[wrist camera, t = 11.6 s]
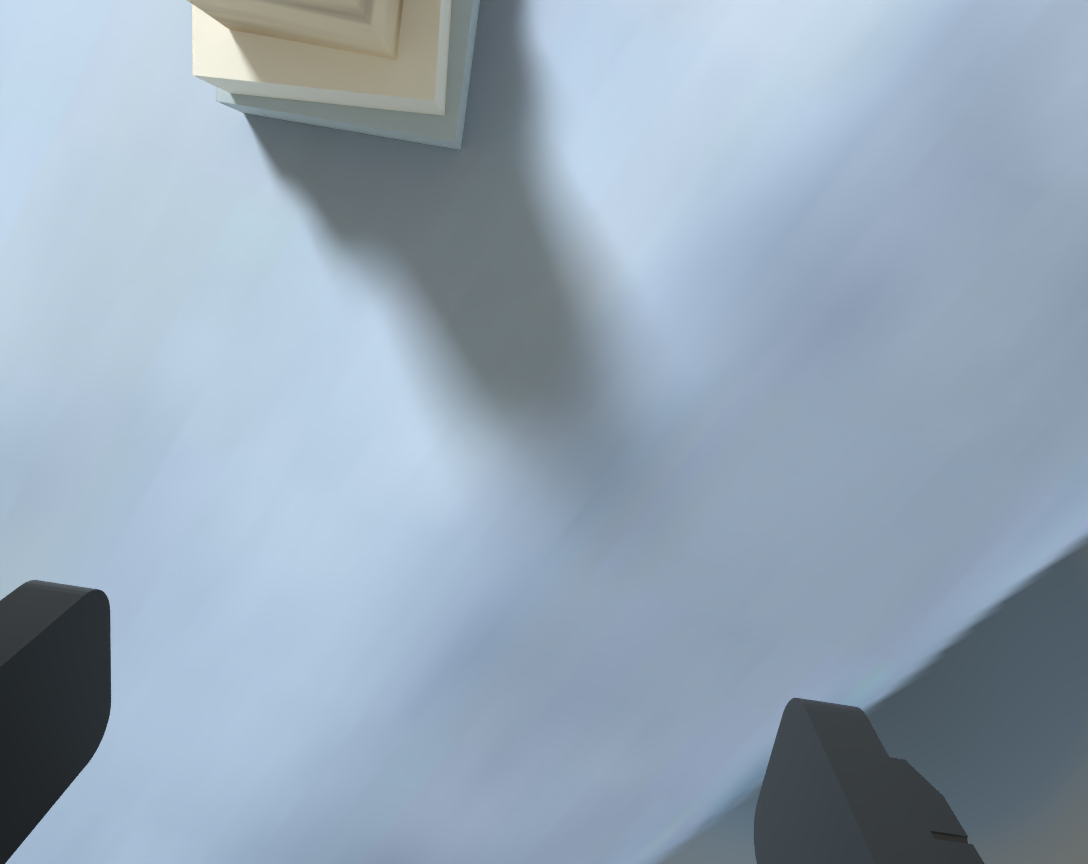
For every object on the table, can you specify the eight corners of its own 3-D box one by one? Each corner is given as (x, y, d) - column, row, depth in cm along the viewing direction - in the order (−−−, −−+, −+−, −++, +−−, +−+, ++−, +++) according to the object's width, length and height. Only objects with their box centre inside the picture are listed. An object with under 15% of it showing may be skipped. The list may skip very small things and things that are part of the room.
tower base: (263, -129, 31) (232, -172, 28) (491, -85, 32) (488, -124, 28) (247, 114, 33) (215, 101, 30) (461, 151, 34) (455, 141, 31)
